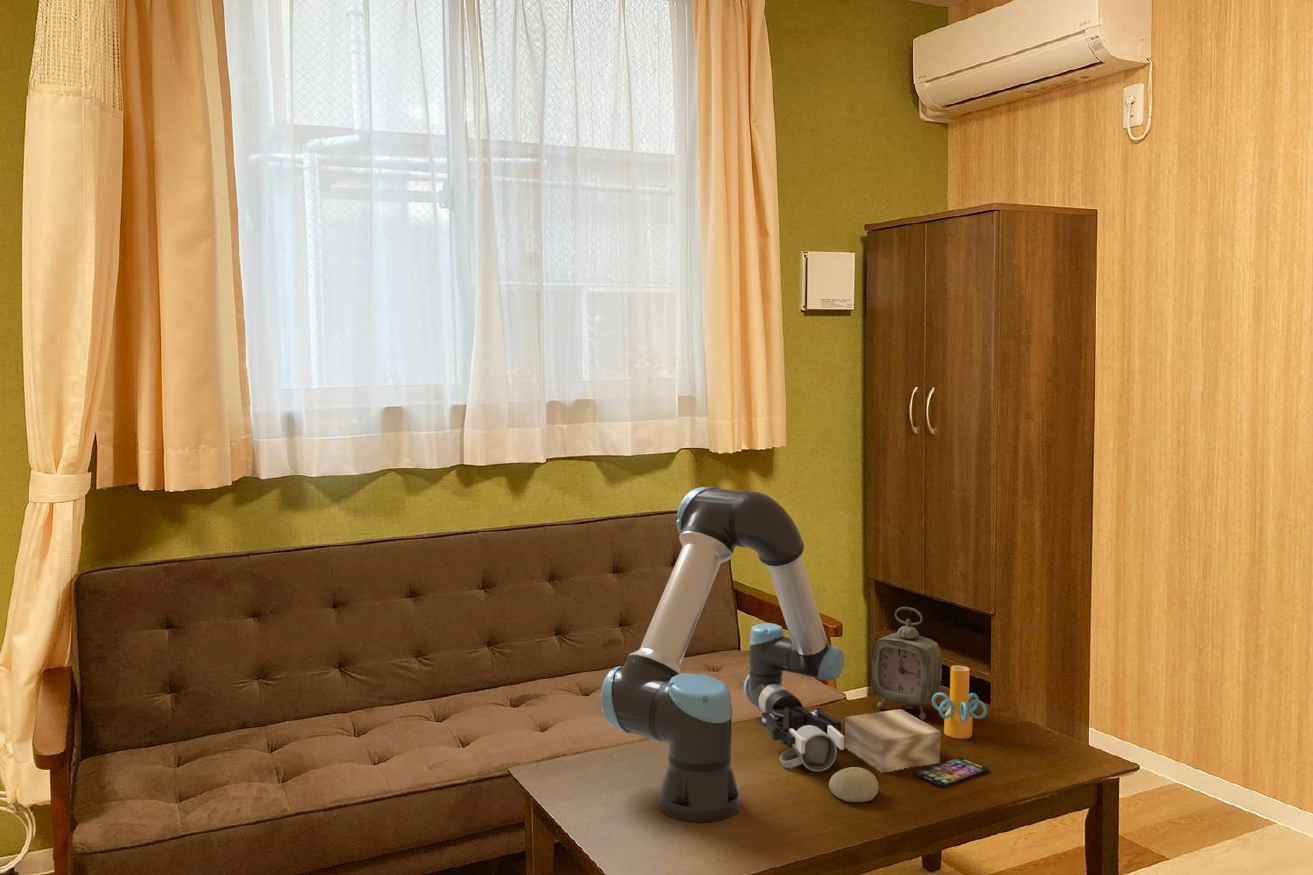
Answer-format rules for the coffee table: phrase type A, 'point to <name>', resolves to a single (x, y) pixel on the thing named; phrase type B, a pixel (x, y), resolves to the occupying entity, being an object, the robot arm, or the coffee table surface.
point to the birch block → (892, 740)
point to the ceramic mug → (812, 750)
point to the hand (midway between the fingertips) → (822, 744)
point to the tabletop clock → (906, 666)
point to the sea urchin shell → (854, 784)
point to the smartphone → (950, 772)
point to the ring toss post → (959, 705)
